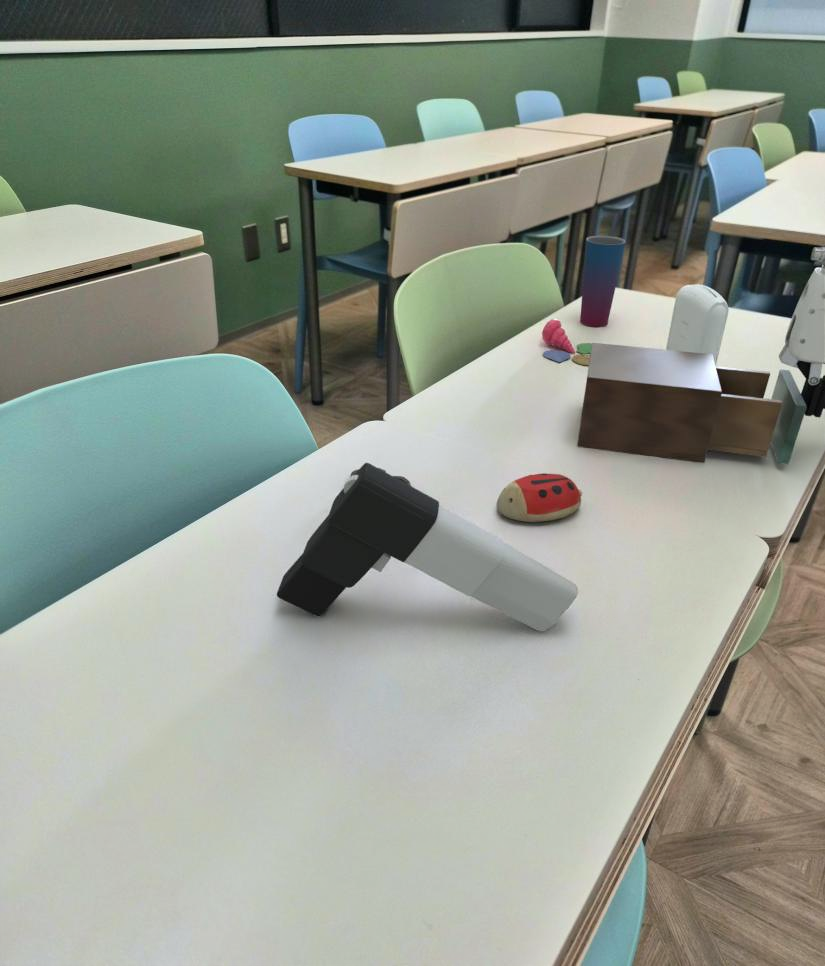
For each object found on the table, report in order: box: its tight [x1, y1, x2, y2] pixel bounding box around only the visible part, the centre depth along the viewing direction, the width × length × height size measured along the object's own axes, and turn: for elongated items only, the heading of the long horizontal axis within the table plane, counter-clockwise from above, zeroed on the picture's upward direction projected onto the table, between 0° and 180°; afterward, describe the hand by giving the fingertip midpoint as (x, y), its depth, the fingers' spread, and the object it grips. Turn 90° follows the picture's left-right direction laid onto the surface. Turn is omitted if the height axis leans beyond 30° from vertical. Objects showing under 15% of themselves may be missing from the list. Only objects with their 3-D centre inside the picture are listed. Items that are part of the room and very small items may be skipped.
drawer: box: [707, 365, 807, 465], centre depth 93 cm, size 16×11×8 cm
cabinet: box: [576, 342, 722, 463], centre depth 95 cm, size 16×13×10 cm
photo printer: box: [665, 283, 729, 366], centre depth 116 cm, size 10×4×12 cm, turn 13°
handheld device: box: [276, 462, 579, 633], centre depth 64 cm, size 4×22×15 cm, turn 85°
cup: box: [579, 235, 627, 328], centre depth 132 cm, size 7×7×15 cm
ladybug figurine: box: [496, 473, 583, 523], centre depth 80 cm, size 7×10×4 cm
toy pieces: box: [541, 318, 593, 367], centre depth 122 cm, size 12×11×4 cm
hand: (810, 411), depth 90 cm, fingers closed
